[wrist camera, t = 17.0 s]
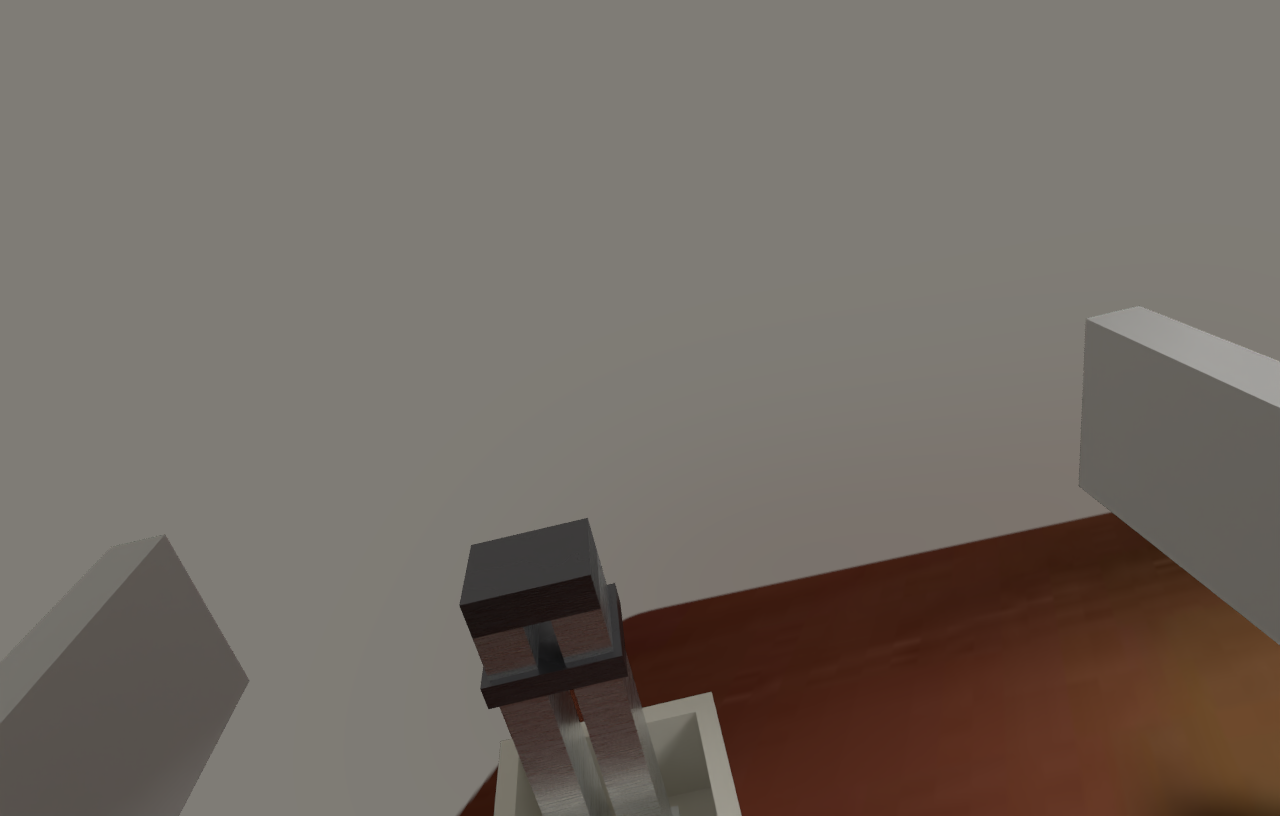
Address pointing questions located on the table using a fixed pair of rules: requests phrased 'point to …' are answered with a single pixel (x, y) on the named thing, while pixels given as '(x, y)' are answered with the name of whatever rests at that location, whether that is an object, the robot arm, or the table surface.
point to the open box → (682, 754)
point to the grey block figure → (562, 671)
